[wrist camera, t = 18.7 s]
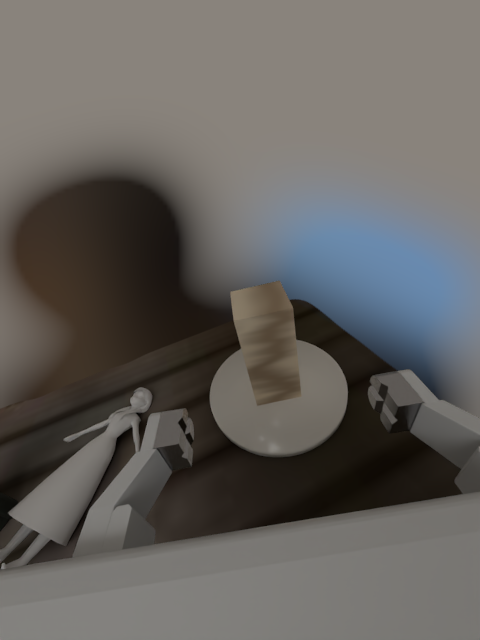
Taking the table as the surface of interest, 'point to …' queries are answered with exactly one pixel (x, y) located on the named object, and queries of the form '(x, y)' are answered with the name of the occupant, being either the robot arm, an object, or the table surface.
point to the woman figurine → (72, 484)
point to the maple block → (267, 341)
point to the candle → (6, 508)
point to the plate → (280, 406)
